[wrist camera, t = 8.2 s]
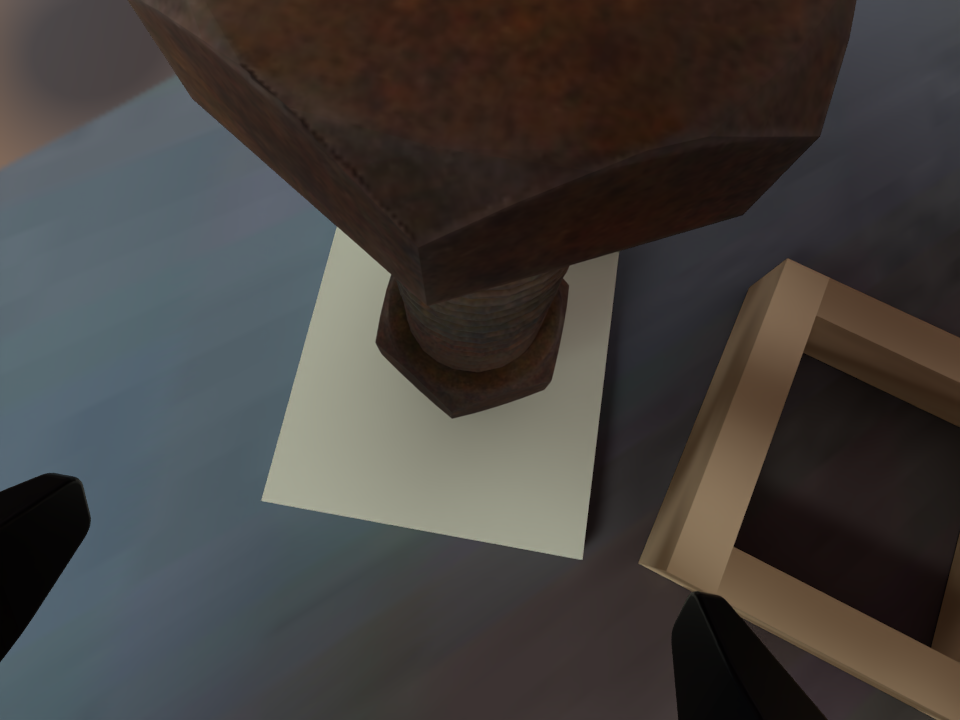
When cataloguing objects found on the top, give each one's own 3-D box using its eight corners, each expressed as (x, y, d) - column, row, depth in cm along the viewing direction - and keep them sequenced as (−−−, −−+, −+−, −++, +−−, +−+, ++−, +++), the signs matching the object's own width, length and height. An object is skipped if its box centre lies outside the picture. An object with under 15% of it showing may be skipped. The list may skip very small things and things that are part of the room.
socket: (961, 732, 17) (1044, 768, 15) (638, 563, 18) (666, 571, 16) (1032, 420, 20) (1111, 408, 18) (749, 287, 21) (787, 258, 18)
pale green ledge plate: (574, 556, 18) (598, 565, 15) (273, 501, 18) (236, 499, 15) (614, 231, 21) (641, 184, 18) (359, 185, 21) (342, 130, 18)
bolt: (528, 271, 19) (740, -431, 5) (577, 408, 18) (1059, 43, 4) (365, 318, 19) (30, -327, 4) (406, 463, 18) (152, 287, 3)
